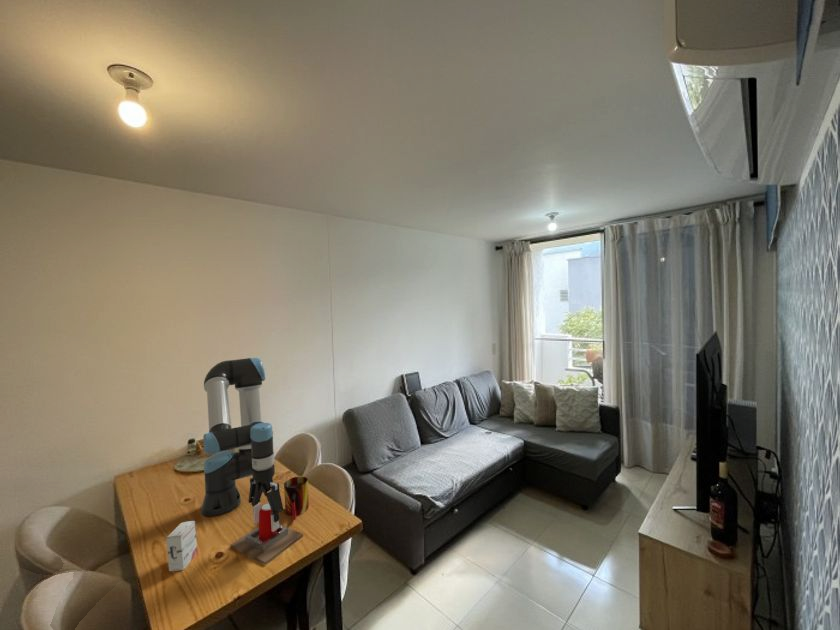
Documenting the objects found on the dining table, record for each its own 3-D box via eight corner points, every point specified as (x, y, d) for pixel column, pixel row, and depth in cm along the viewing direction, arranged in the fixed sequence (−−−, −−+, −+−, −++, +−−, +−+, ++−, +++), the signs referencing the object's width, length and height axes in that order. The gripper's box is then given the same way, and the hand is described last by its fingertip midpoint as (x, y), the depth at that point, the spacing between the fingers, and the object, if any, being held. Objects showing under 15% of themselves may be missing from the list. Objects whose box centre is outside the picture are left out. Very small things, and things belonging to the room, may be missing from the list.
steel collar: (245, 543, 123) (245, 535, 123) (270, 526, 132) (270, 519, 132) (263, 552, 118) (263, 544, 118) (288, 534, 127) (287, 527, 127)
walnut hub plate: (230, 547, 123) (230, 544, 123) (269, 522, 137) (268, 519, 137) (265, 565, 114) (265, 562, 114) (303, 536, 127) (302, 533, 127)
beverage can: (267, 530, 130) (267, 500, 129) (280, 534, 128) (280, 503, 128) (255, 541, 124) (255, 509, 124) (268, 545, 122) (269, 512, 122)
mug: (293, 523, 136) (291, 494, 135) (282, 509, 146) (280, 481, 146) (316, 513, 142) (314, 485, 142) (304, 500, 152) (302, 474, 152)
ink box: (183, 553, 121) (181, 521, 121) (198, 552, 121) (196, 519, 121) (167, 572, 112) (165, 537, 112) (183, 570, 113) (181, 535, 113)
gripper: (235, 464, 127) (239, 523, 127) (274, 477, 116) (277, 540, 117) (254, 456, 134) (257, 512, 134) (291, 467, 123) (295, 527, 123)
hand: (266, 525), depth 125 cm, fingers open, 9 cm apart
